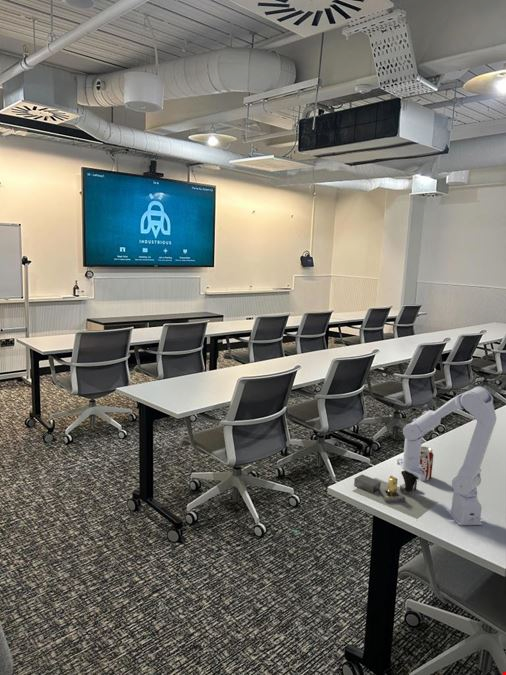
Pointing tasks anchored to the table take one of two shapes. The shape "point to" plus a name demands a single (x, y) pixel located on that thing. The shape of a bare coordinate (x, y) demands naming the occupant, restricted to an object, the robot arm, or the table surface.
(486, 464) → the table surface
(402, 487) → the lever
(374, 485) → the grey block and frame
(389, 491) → the key peg
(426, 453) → the soda can
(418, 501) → the mat
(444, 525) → the table surface
